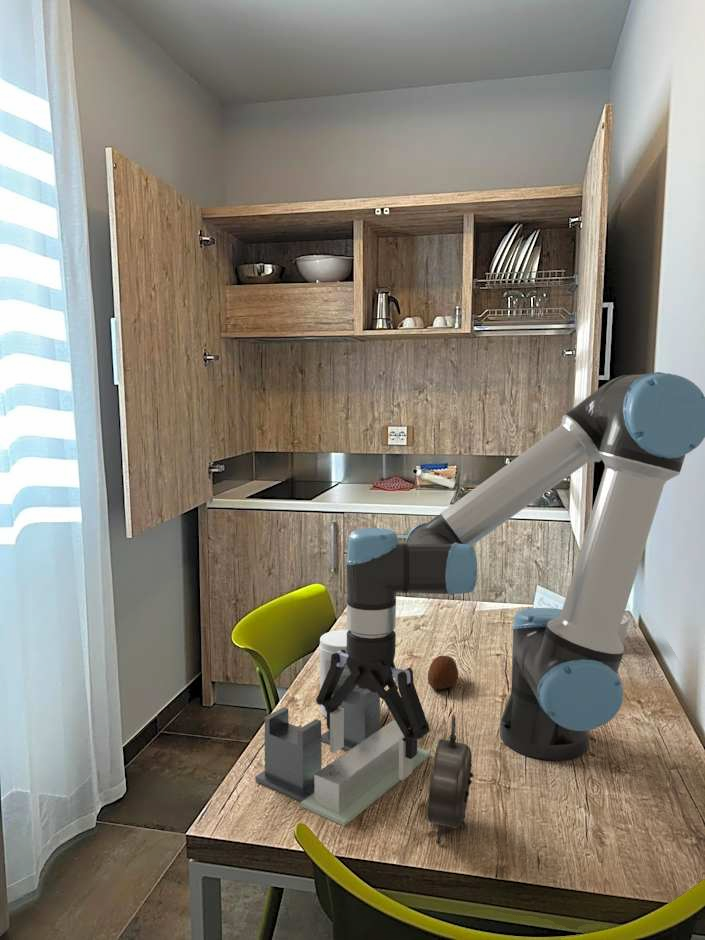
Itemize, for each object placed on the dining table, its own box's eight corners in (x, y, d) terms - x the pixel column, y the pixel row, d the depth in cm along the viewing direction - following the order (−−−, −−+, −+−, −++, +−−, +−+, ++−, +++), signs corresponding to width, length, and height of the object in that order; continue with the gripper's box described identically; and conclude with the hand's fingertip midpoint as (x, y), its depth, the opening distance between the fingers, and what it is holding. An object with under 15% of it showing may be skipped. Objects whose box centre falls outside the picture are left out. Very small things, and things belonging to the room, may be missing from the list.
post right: (388, 743, 122) (388, 685, 121) (366, 758, 117) (367, 698, 116) (342, 726, 128) (342, 671, 127) (319, 740, 123) (319, 683, 122)
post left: (331, 784, 109) (331, 720, 108) (304, 803, 104) (304, 736, 103) (282, 763, 115) (282, 703, 114) (255, 781, 110) (254, 717, 109)
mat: (430, 755, 118) (430, 752, 118) (344, 826, 99) (344, 822, 99) (390, 741, 123) (390, 737, 123) (300, 806, 104) (300, 802, 104)
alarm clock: (438, 801, 105) (440, 697, 103) (474, 807, 103) (477, 702, 102) (424, 847, 95) (426, 732, 93) (465, 854, 93) (468, 738, 91)
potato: (463, 677, 150) (463, 648, 150) (452, 699, 140) (453, 668, 139) (435, 673, 152) (435, 644, 152) (422, 695, 142) (423, 664, 141)
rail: (418, 751, 118) (418, 725, 118) (338, 814, 101) (339, 784, 100) (395, 743, 121) (396, 718, 120) (314, 803, 103) (314, 774, 103)
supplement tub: (380, 716, 132) (380, 640, 131) (337, 729, 127) (337, 650, 125) (351, 697, 140) (352, 625, 139) (310, 708, 135) (310, 634, 133)
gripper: (454, 640, 104) (451, 777, 106) (323, 608, 118) (323, 730, 121) (428, 655, 98) (425, 800, 100) (294, 620, 112) (294, 747, 115)
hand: (370, 762), depth 111 cm, fingers open, 12 cm apart
